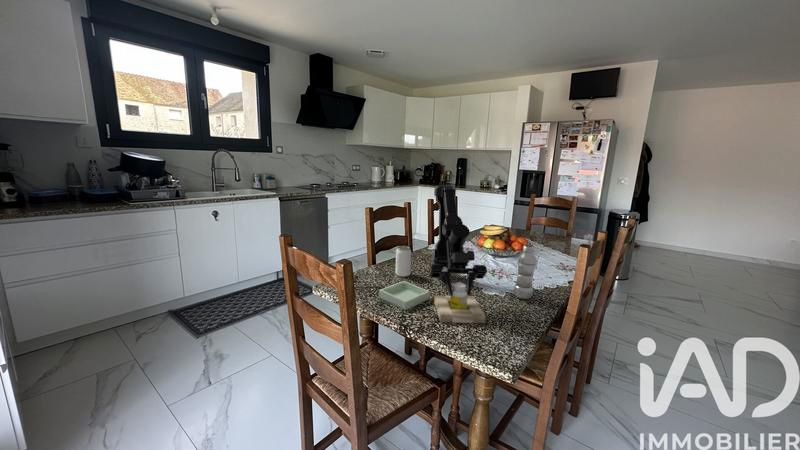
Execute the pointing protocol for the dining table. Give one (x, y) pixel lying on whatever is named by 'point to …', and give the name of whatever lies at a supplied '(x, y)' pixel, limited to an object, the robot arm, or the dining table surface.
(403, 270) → the can
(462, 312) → the socket block
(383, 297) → the tray
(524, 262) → the plastic bottle
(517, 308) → the dining table surface
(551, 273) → the dining table surface
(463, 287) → the supplement bottle
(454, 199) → the robot arm
